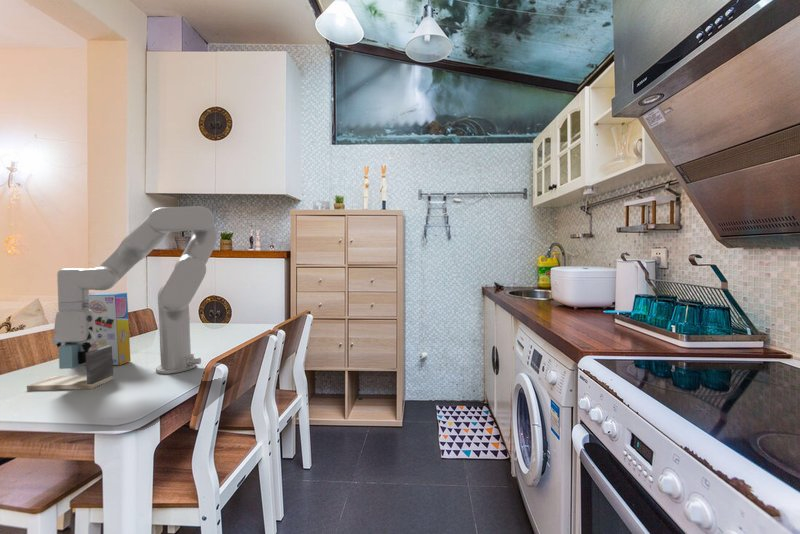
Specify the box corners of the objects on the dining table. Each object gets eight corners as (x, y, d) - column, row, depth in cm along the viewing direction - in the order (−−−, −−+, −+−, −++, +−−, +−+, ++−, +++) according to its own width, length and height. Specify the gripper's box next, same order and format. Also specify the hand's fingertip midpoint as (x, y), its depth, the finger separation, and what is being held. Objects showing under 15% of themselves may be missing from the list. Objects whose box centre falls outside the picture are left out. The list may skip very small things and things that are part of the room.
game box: (131, 361, 147) (128, 292, 146) (119, 366, 142) (116, 294, 141) (83, 361, 150) (79, 292, 148) (69, 365, 144) (66, 294, 143)
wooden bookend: (113, 379, 127) (111, 345, 126) (92, 389, 118) (90, 352, 117) (52, 380, 126) (51, 346, 126) (26, 390, 117) (24, 354, 117)
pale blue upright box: (90, 362, 125) (89, 341, 125) (72, 368, 118) (71, 346, 118) (78, 362, 125) (77, 341, 125) (59, 368, 118) (58, 346, 118)
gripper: (109, 304, 125) (110, 359, 125) (57, 305, 125) (59, 360, 125) (91, 308, 117) (92, 366, 118) (36, 308, 117) (38, 366, 118)
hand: (75, 362), depth 122 cm, fingers closed on pale blue upright box, 4 cm apart
